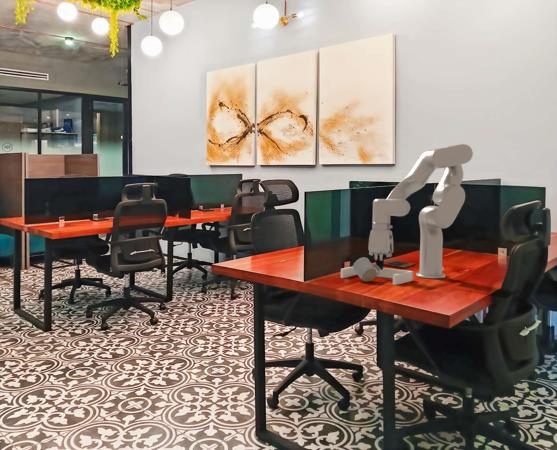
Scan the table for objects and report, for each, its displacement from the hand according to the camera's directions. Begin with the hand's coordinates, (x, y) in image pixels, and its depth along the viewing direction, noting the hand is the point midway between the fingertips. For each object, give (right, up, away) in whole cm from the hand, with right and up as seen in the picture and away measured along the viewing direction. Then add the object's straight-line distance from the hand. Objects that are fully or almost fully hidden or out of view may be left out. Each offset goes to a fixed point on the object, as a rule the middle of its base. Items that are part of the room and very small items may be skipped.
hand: (379, 269), depth 221 cm
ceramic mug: (-6, -5, -7) cm, 11 cm away
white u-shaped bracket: (-2, -4, -2) cm, 5 cm away
